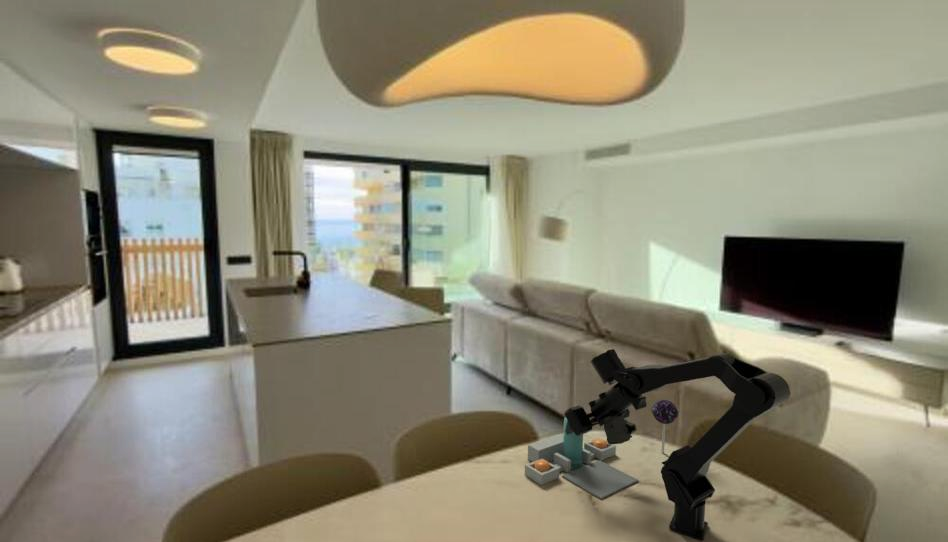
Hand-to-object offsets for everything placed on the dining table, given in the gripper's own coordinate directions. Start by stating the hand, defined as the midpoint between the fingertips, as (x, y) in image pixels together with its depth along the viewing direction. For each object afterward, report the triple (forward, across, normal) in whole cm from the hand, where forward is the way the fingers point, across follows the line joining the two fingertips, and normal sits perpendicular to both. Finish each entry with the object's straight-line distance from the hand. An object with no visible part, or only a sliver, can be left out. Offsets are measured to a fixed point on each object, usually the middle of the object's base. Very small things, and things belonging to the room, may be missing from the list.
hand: (578, 428), depth 120 cm
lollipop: (+2, +26, -13) cm, 29 cm away
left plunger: (+8, -11, -6) cm, 15 cm away
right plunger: (+8, +11, -6) cm, 15 cm away
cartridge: (+8, 0, -6) cm, 10 cm away
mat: (+2, 0, -12) cm, 13 cm away
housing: (+10, 0, -4) cm, 11 cm away
